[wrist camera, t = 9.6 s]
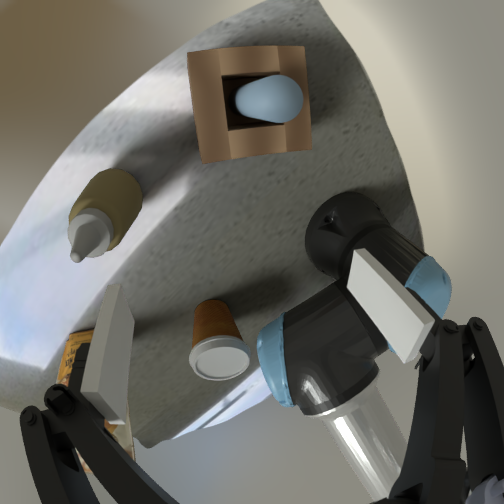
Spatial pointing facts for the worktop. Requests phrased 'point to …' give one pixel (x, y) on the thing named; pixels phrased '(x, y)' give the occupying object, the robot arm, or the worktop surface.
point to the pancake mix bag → (117, 430)
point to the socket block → (236, 126)
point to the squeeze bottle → (103, 213)
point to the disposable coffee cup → (217, 343)
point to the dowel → (268, 99)
